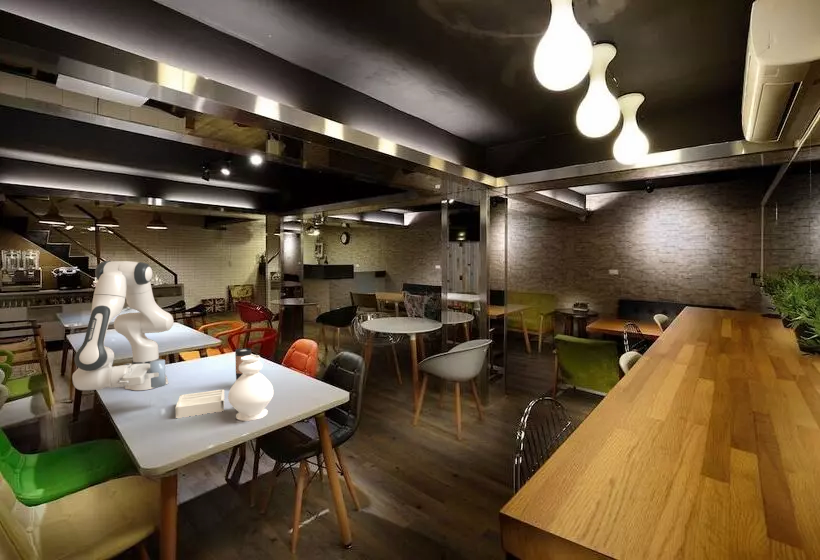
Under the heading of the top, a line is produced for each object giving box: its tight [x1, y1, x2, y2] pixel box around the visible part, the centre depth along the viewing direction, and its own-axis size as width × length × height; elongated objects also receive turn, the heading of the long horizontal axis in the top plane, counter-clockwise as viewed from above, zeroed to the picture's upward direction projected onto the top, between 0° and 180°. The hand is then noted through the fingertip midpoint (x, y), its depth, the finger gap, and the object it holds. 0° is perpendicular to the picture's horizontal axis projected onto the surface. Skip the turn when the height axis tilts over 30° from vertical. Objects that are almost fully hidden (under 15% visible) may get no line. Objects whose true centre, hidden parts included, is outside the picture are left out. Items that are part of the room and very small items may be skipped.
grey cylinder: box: [150, 358, 167, 389], centre depth 167 cm, size 6×6×11 cm
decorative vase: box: [228, 354, 275, 422], centre depth 161 cm, size 18×18×25 cm
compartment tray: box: [174, 388, 225, 419], centre depth 169 cm, size 16×18×5 cm
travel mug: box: [234, 347, 252, 381], centre depth 195 cm, size 8×8×20 cm
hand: (160, 371), depth 168 cm, fingers closed on grey cylinder, 5 cm apart
